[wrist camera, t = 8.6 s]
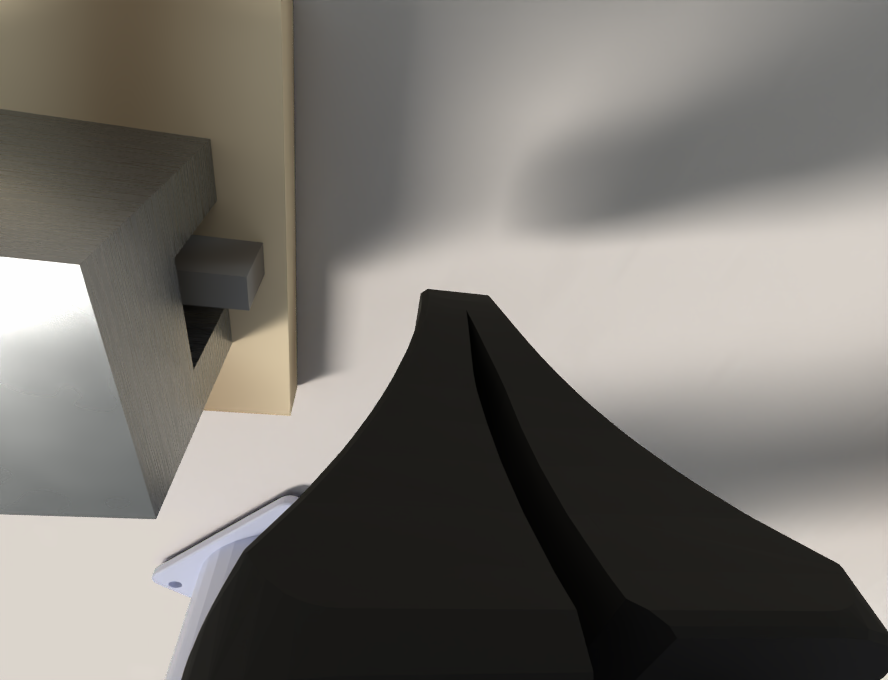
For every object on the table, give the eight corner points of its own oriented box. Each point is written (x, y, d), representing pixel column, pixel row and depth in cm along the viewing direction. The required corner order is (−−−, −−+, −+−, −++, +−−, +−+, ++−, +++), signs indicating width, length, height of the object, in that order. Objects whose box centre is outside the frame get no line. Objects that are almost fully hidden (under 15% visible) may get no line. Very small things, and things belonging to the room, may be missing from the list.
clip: (210, 139, 10) (80, 264, 6) (232, 342, 13) (156, 519, 9) (-153, 86, 9) (-612, 194, 5) (-38, 320, 12) (-261, 505, 8)
